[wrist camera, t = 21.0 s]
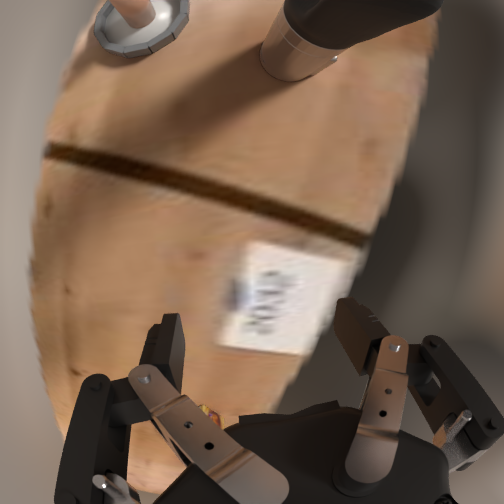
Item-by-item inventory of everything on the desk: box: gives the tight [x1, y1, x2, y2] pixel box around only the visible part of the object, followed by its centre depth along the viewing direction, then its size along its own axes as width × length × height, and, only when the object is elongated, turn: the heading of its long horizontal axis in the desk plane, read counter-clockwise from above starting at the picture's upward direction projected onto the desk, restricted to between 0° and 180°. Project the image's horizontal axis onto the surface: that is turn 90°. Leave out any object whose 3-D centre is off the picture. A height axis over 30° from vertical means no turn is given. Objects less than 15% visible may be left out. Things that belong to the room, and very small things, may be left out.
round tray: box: [94, 0, 190, 58], centre depth 28 cm, size 16×16×3 cm
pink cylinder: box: [109, 0, 156, 29], centre depth 23 cm, size 5×5×12 cm
